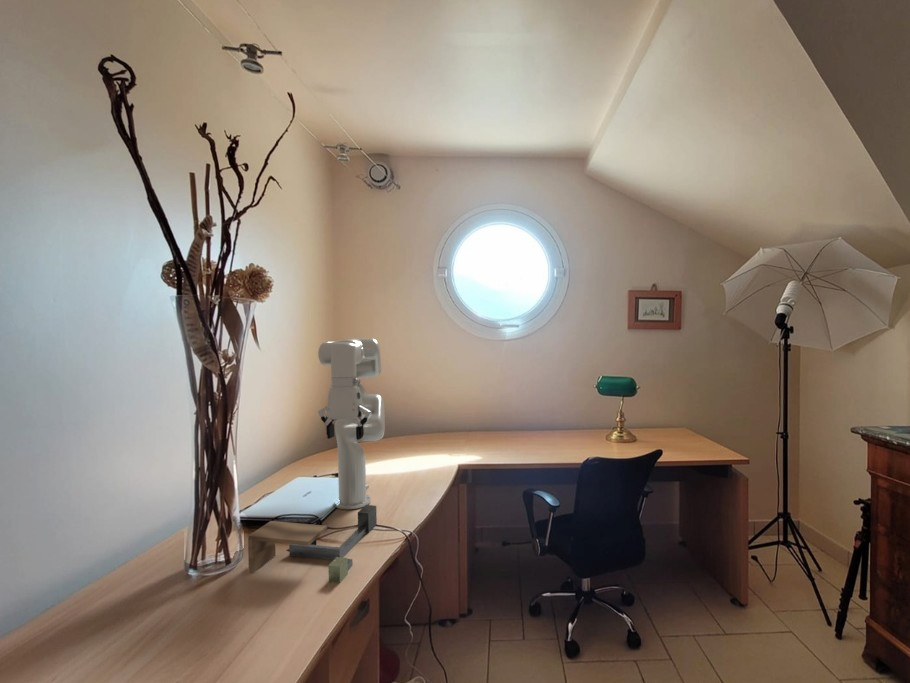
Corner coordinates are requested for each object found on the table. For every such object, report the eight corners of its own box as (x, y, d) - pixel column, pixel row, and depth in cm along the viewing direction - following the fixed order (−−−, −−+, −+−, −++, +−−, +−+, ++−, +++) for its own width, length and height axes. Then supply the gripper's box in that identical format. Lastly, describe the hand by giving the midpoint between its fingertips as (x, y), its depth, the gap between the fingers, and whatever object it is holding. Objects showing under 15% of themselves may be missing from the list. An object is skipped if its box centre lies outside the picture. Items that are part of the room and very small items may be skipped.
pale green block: (344, 564, 111) (344, 549, 111) (355, 565, 111) (354, 550, 111) (328, 581, 103) (328, 565, 103) (340, 583, 103) (339, 566, 103)
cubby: (271, 555, 117) (270, 520, 117) (328, 561, 113) (327, 525, 113) (248, 573, 108) (248, 535, 108) (309, 580, 104) (308, 541, 104)
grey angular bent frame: (331, 520, 138) (331, 502, 138) (376, 524, 135) (376, 505, 135) (289, 555, 116) (289, 533, 116) (342, 561, 113) (341, 538, 113)
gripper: (375, 381, 133) (376, 436, 133) (324, 381, 137) (326, 434, 137) (364, 384, 126) (365, 442, 126) (312, 384, 130) (313, 440, 130)
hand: (345, 438), depth 132 cm, fingers open, 9 cm apart
